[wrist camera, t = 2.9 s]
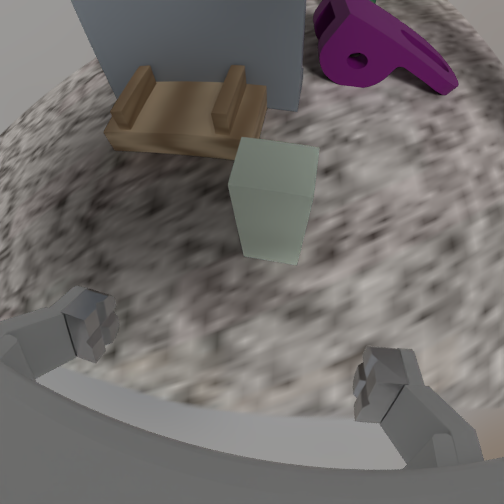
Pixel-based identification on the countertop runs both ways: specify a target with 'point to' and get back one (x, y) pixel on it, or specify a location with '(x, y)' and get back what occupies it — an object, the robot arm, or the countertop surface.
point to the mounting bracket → (374, 46)
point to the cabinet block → (272, 197)
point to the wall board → (200, 41)
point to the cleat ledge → (187, 115)
